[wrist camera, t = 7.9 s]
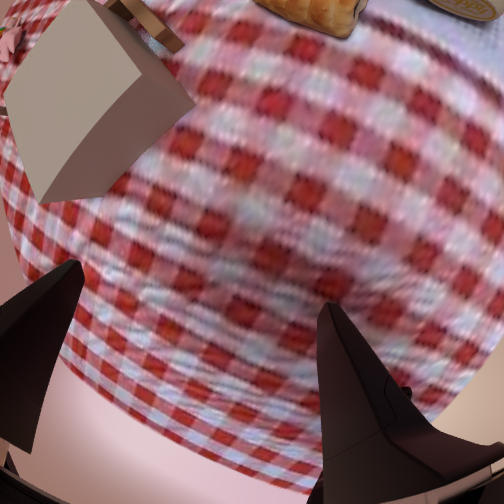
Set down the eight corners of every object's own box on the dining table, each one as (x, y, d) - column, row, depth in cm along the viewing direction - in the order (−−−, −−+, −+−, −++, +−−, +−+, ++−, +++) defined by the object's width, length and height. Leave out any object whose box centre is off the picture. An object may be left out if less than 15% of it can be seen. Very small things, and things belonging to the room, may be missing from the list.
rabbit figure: (10, 40, 25) (8, 76, 24) (-13, 33, 20) (-21, 68, 18) (30, 13, 23) (31, 41, 22) (7, 3, 18) (1, 30, 16)
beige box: (197, 105, 21) (142, 74, 13) (104, 196, 24) (38, 204, 17) (129, 22, 20) (79, -9, 12) (57, 103, 24) (3, 94, 16)
